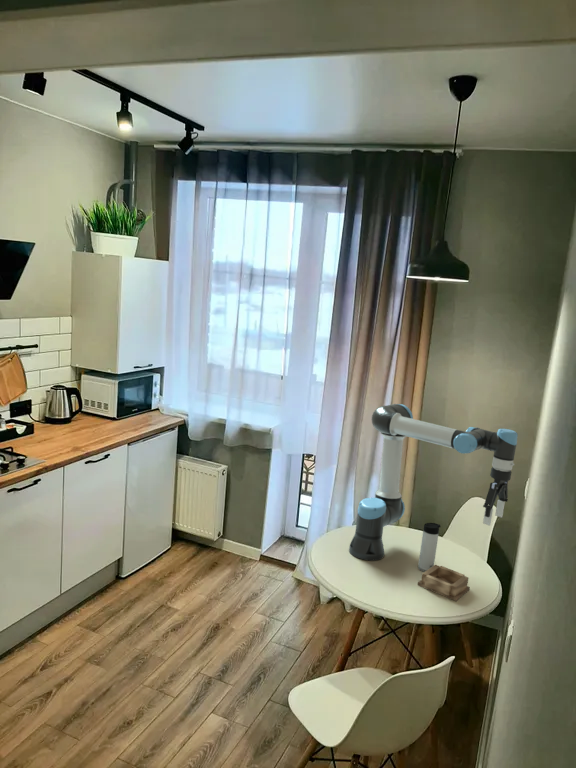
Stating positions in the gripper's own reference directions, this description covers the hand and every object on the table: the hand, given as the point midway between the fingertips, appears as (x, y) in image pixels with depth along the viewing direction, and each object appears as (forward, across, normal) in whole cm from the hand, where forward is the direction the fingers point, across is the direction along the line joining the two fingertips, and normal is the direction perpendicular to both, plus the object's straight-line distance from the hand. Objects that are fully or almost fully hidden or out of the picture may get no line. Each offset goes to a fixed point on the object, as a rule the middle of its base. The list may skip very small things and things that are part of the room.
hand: (492, 520), depth 226 cm
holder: (+28, -15, +10) cm, 33 cm away
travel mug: (+28, -6, +22) cm, 36 cm away
